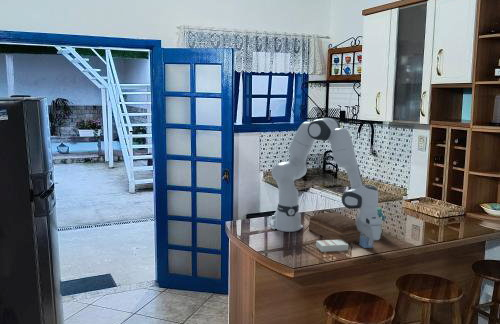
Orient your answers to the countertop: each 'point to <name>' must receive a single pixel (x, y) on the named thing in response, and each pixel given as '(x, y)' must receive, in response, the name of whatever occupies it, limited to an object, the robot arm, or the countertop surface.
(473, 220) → the countertop surface
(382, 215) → the toy
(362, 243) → the light blue cube
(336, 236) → the bread
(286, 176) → the robot arm
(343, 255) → the countertop surface
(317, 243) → the white flat box
